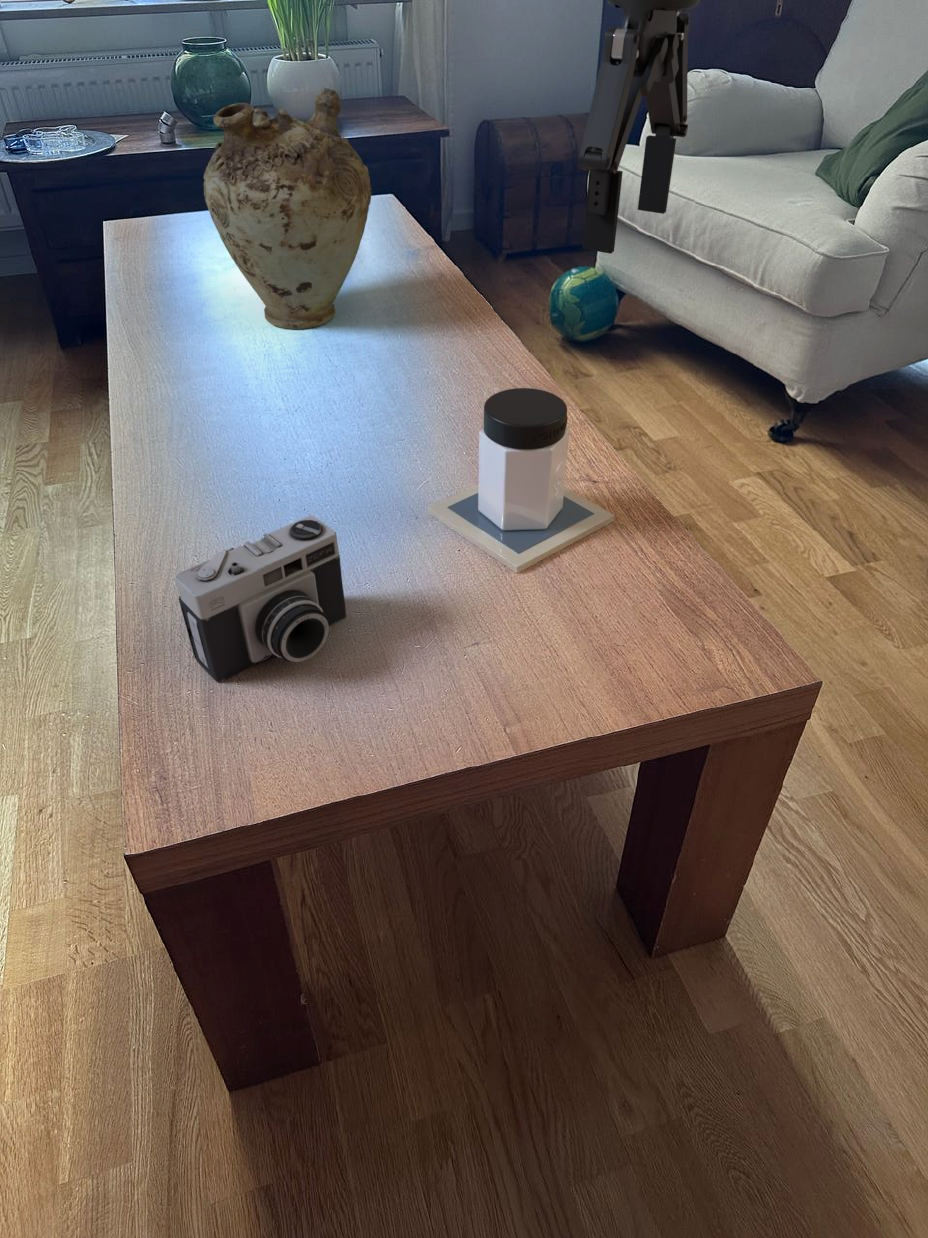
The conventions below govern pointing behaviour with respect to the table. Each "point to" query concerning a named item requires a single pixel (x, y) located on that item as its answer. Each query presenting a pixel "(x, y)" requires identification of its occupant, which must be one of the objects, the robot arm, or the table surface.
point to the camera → (264, 599)
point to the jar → (522, 458)
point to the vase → (289, 206)
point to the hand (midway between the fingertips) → (626, 229)
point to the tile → (520, 544)
